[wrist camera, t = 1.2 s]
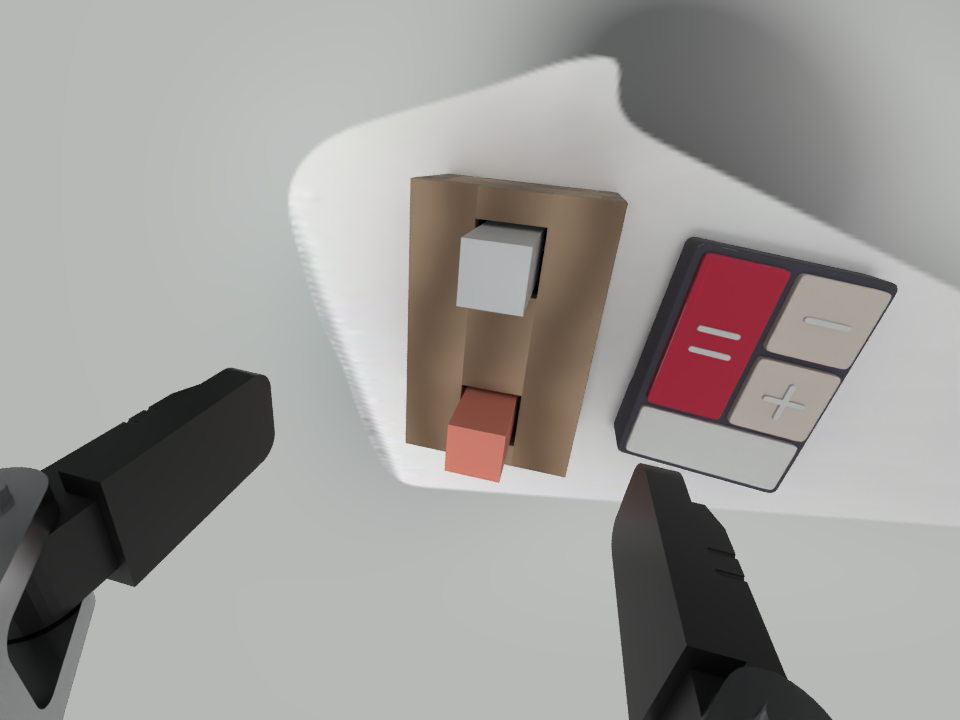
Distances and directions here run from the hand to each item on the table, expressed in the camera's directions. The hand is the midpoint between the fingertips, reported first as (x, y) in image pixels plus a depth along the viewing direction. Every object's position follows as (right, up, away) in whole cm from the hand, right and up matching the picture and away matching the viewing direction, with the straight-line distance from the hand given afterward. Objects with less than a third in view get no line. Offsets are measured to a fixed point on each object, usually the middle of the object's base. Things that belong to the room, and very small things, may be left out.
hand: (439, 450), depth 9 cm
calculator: (+18, +2, +21) cm, 28 cm away
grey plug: (+3, +9, +16) cm, 19 cm away
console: (+3, +6, +22) cm, 23 cm away
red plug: (+2, 0, +21) cm, 21 cm away
